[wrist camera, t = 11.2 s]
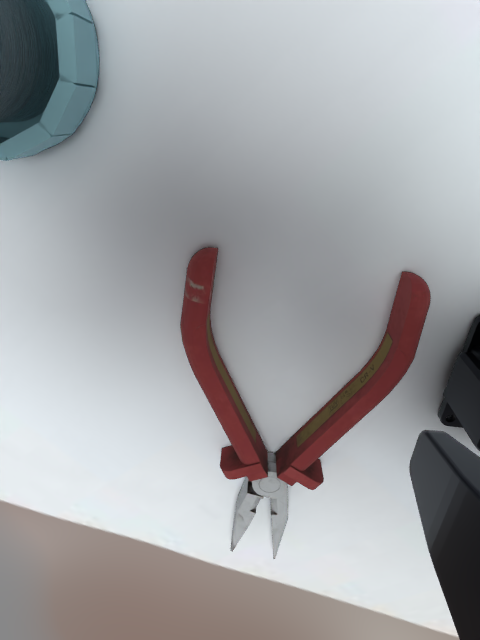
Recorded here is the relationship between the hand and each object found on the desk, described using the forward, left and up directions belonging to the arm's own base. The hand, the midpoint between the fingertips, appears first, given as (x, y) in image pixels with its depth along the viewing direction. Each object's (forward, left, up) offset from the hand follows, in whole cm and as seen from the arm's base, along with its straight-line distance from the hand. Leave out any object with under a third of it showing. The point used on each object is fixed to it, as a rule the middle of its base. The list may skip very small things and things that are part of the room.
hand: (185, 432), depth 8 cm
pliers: (-2, +9, -14) cm, 17 cm away
